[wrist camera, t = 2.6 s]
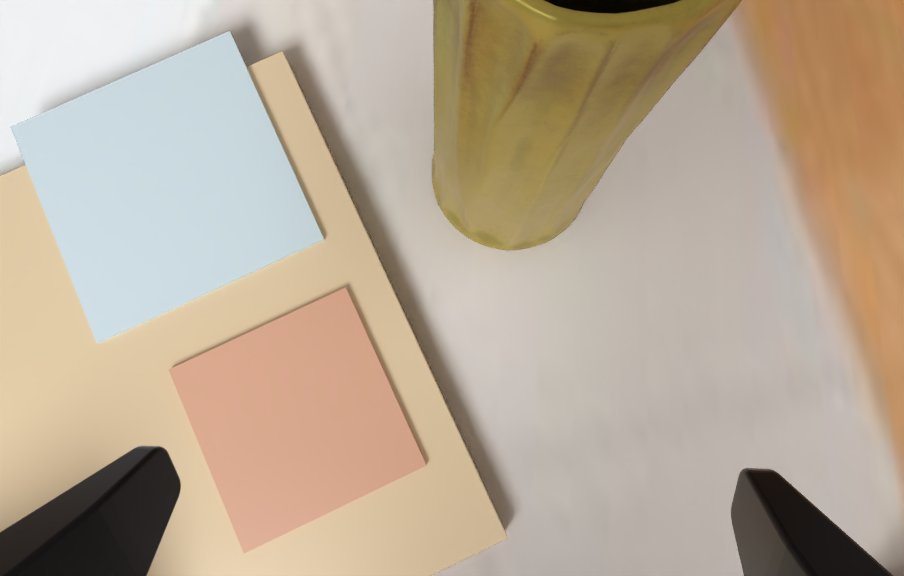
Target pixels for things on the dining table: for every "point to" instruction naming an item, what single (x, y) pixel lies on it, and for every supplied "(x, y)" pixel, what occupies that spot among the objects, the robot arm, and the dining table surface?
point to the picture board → (221, 332)
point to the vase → (547, 102)
